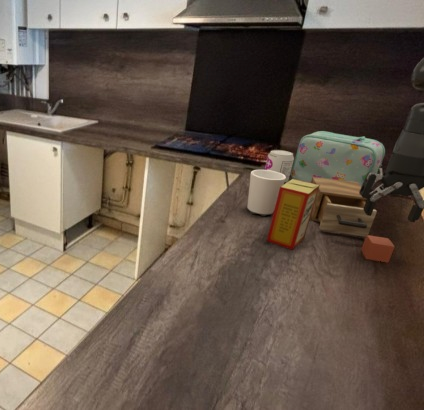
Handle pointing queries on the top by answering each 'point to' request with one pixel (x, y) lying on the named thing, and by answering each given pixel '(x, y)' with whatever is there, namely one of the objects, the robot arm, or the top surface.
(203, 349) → the top surface
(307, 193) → the baking soda box
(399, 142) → the robot arm
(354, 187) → the cabinet
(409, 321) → the top surface
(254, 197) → the cup
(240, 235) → the top surface
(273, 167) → the supplement can
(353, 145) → the lunch box
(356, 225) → the drawer
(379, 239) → the block
